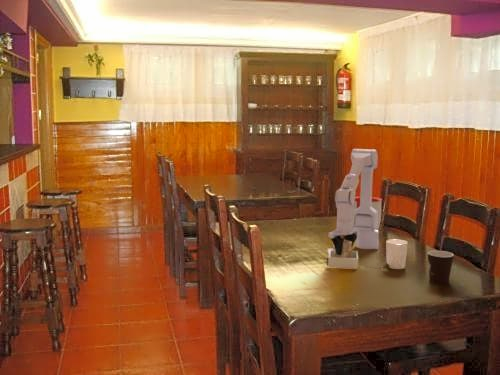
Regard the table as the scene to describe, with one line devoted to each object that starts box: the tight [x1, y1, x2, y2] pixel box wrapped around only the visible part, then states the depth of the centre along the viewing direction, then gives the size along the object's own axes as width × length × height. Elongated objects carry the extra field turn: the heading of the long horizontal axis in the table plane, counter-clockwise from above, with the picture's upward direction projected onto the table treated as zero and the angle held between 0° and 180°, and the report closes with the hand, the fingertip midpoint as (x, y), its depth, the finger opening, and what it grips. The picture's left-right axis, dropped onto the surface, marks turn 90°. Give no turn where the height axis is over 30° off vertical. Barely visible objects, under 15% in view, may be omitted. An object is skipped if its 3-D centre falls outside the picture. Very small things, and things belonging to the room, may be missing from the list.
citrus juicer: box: [352, 195, 383, 231], centre depth 260 cm, size 16×17×20 cm
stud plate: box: [327, 243, 335, 254], centre depth 224 cm, size 7×7×6 cm
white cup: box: [385, 238, 409, 270], centre depth 205 cm, size 8×8×10 cm
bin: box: [327, 250, 359, 270], centre depth 209 cm, size 11×11×4 cm
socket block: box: [335, 238, 353, 258], centre depth 208 cm, size 5×5×6 cm
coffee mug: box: [427, 250, 455, 285], centre depth 189 cm, size 12×9×10 cm
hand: (343, 253), depth 208 cm, fingers closed on socket block, 5 cm apart
